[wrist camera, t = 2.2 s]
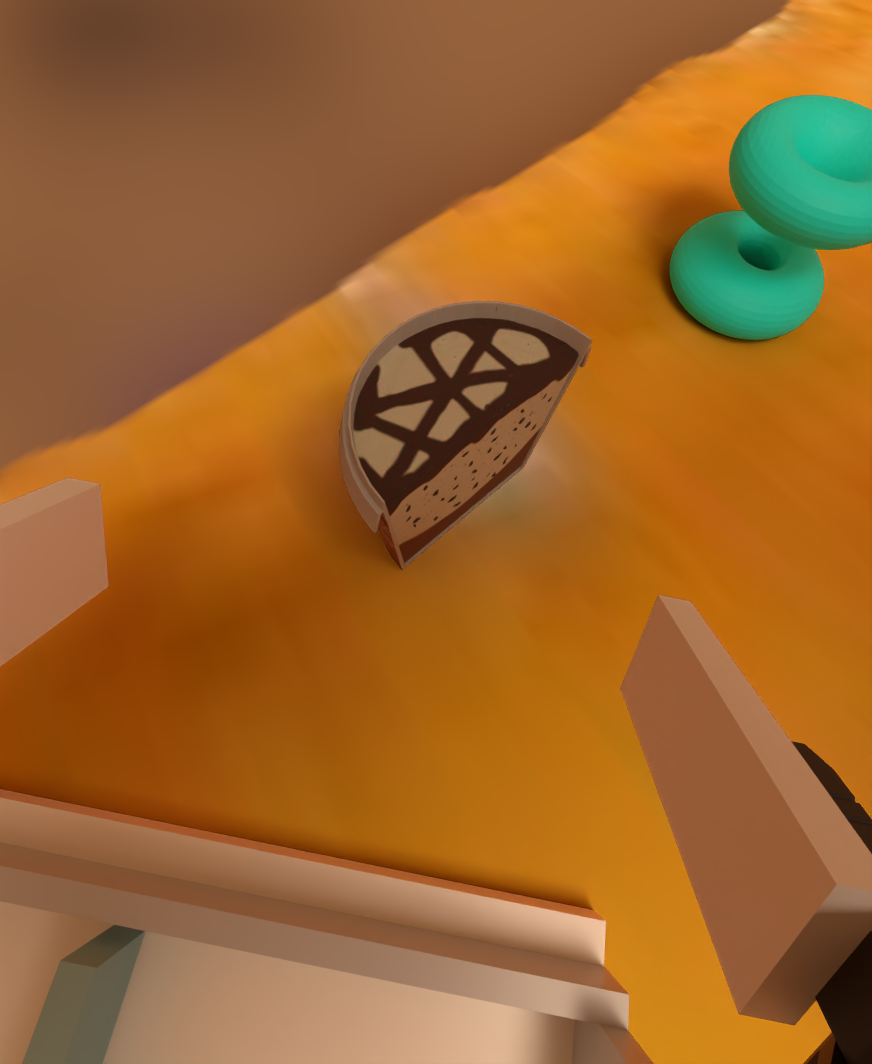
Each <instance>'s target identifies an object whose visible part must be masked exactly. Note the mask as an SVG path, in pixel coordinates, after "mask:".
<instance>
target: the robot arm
mask: <svg viewBox="0 0 872 1064" xmlns="http://www.w3.org/2000/svg"><path fill="white" fill-rule="evenodd" d="M108 586H109V585H108V573H107V561H106V549H105V536H104V524H103V512H102V500H101V487H100V484H98V483H93V482H88V481H83V480H78V479H73V478H65V479H63V480H60V481H58V482H55V483H53V484H50V485H48V486H45V487H43V488H40V489H38V490H36V491H33V492H31V493H28V494H26V495H23V496H21V497H18V498H16V499H13V500H11V501H8V502H6V503H3V504H1V505H0V667H1V666H2V665H3V664H5V663H6V662H7V661H9V660H10V659H11V658H13V657H14V656H15V655H17V654H18V653H19V652H21V651H22V650H23V649H25V648H26V647H28V646H29V645H30V644H32V643H33V642H34V641H36V640H37V639H38V638H40V637H41V636H42V635H44V634H45V633H46V632H48V631H49V630H50V629H52V628H53V627H54V626H56V625H57V624H59V623H60V622H61V621H63V620H64V619H65V618H67V617H68V616H69V615H71V614H72V613H73V612H75V611H76V610H77V609H79V608H80V607H81V606H83V605H84V604H86V603H87V602H88V601H90V600H91V599H92V598H94V597H95V596H96V595H98V594H99V593H100V592H102V591H103V590H104V589H106V588H107V587H108ZM620 689H621V691H622V694H623V697H624V700H625V702H626V705H627V708H628V711H629V713H630V716H631V719H632V722H633V724H634V727H635V730H636V733H637V735H638V738H639V741H640V744H641V746H642V749H643V752H644V755H645V757H646V760H647V763H648V766H649V768H650V771H651V774H652V777H653V779H654V782H655V785H656V788H657V790H658V793H659V796H660V799H661V801H662V804H663V807H664V810H665V812H666V815H667V818H668V821H669V823H670V826H671V829H672V832H673V834H674V837H675V840H676V843H677V845H678V848H679V851H680V854H681V856H682V859H683V862H684V865H685V867H686V870H687V873H688V876H689V878H690V881H691V884H692V887H693V889H694V892H695V895H696V898H697V900H698V903H699V906H700V909H701V911H702V914H703V917H704V920H705V922H706V925H707V928H708V931H709V933H710V936H711V939H712V942H713V944H714V947H715V950H716V953H717V955H718V958H719V961H720V964H721V966H722V969H723V972H724V975H725V977H726V980H727V983H728V986H729V988H730V991H731V994H732V997H733V999H734V1002H735V1005H736V1008H737V1010H738V1013H739V1014H741V1015H746V1016H751V1017H756V1018H761V1019H766V1020H771V1021H776V1022H781V1023H786V1024H791V1025H795V1024H796V1023H797V1022H798V1021H799V1020H800V1018H801V1017H802V1016H803V1015H804V1014H805V1013H806V1011H807V1010H808V1009H809V1008H810V1007H811V1005H812V1004H813V1003H814V1002H815V1001H816V1000H817V1002H818V1004H819V1006H820V1008H821V1010H822V1012H823V1015H824V1017H825V1019H826V1021H827V1023H828V1025H829V1027H830V1029H831V1031H832V1033H831V1034H830V1035H829V1036H828V1037H827V1038H826V1039H825V1040H824V1042H823V1043H822V1044H821V1045H820V1046H819V1047H818V1048H817V1049H816V1050H815V1051H814V1052H813V1054H812V1055H811V1056H810V1057H809V1058H808V1059H807V1060H806V1061H805V1062H804V1063H803V1064H872V819H871V818H870V817H869V815H868V814H867V813H866V811H865V810H864V809H863V807H862V806H861V805H860V804H859V803H855V797H854V796H853V794H852V793H851V792H850V790H849V789H848V788H847V787H846V785H845V784H844V783H843V781H842V780H841V779H840V777H839V776H838V775H837V773H836V772H835V771H834V770H833V769H832V768H831V767H830V766H829V765H828V764H827V763H825V762H824V761H823V760H822V759H821V758H820V757H819V756H817V755H816V754H815V753H814V752H813V751H812V750H811V749H809V748H808V747H807V746H806V745H805V744H802V743H797V742H792V741H791V740H790V739H789V738H788V736H787V735H786V733H785V732H784V731H783V729H782V728H781V726H780V725H779V724H778V722H777V721H776V719H775V718H774V717H773V715H772V714H771V712H770V711H769V710H768V708H767V707H766V705H765V704H764V703H763V701H762V700H761V698H760V697H759V696H758V694H757V693H756V691H755V690H754V689H753V687H752V686H751V684H750V683H749V682H748V680H747V679H746V677H745V676H744V675H743V673H742V672H741V670H740V669H739V668H738V666H737V665H736V663H735V662H734V661H733V659H732V658H731V656H730V655H729V654H728V652H727V651H726V649H725V648H724V647H723V645H722V644H721V642H720V641H719V640H718V638H717V637H716V635H715V634H714V633H713V631H712V630H711V628H710V627H709V626H708V624H707V623H706V621H705V620H704V619H703V617H702V616H701V614H700V613H699V612H698V610H697V609H696V607H695V606H694V605H693V603H692V602H691V601H687V600H682V599H677V598H672V597H667V596H662V595H658V597H657V599H656V602H655V604H654V607H653V609H652V612H651V614H650V617H649V619H648V622H647V624H646V627H645V629H644V632H643V634H642V636H641V639H640V641H639V644H638V646H637V649H636V651H635V654H634V656H633V659H632V661H631V664H630V666H629V669H628V671H627V674H626V676H625V678H624V681H623V683H622V686H621V688H620Z"/></svg>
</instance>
